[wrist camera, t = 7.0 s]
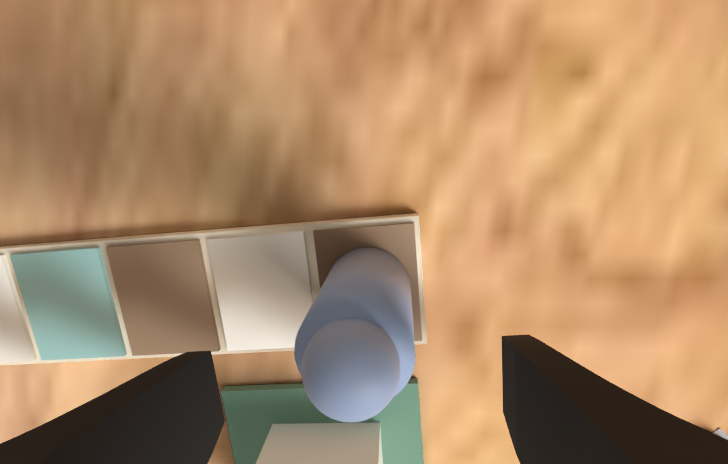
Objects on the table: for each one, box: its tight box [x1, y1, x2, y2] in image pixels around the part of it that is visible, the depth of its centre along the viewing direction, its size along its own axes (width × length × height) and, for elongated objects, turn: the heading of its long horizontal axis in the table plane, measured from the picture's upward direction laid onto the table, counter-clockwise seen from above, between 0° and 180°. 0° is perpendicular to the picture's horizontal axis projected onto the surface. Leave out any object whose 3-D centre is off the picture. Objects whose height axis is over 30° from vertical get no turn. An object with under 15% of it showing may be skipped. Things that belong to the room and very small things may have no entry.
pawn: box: [294, 247, 415, 422], centre depth 12 cm, size 3×3×7 cm
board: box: [0, 213, 427, 365], centre depth 17 cm, size 6×22×1 cm, turn 96°
